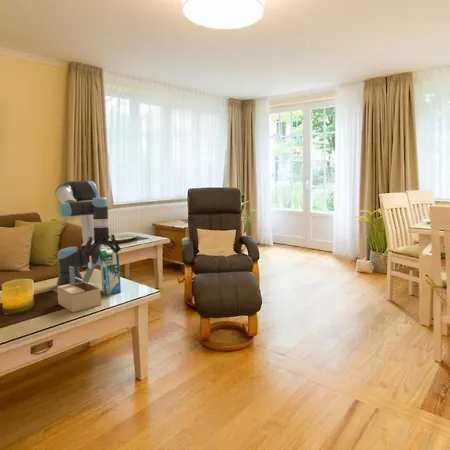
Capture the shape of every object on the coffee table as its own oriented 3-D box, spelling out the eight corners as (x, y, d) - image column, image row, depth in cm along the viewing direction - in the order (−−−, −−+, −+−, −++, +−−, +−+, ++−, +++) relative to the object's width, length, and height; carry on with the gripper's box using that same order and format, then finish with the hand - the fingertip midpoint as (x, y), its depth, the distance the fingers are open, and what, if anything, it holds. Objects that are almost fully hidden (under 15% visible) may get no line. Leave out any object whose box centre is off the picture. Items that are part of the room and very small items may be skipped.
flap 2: (73, 277, 196) (81, 259, 199) (84, 281, 201) (92, 263, 204) (87, 283, 185) (96, 264, 187) (99, 287, 189) (107, 268, 192)
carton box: (58, 304, 192) (57, 287, 191) (85, 297, 203) (84, 281, 202) (72, 312, 180) (71, 295, 179) (101, 304, 191) (100, 288, 189)
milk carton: (104, 295, 206) (101, 252, 202) (102, 290, 214) (99, 249, 210) (120, 292, 210) (118, 250, 206) (117, 288, 218) (115, 247, 214)
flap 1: (57, 287, 191) (56, 268, 189) (70, 284, 196) (69, 265, 194) (71, 294, 179) (69, 274, 177) (84, 291, 184) (83, 271, 182)
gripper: (80, 229, 180) (82, 271, 182) (126, 225, 197) (127, 263, 200) (74, 228, 185) (76, 268, 187) (119, 224, 203) (120, 261, 205)
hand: (102, 266), depth 194 cm, fingers open, 13 cm apart
